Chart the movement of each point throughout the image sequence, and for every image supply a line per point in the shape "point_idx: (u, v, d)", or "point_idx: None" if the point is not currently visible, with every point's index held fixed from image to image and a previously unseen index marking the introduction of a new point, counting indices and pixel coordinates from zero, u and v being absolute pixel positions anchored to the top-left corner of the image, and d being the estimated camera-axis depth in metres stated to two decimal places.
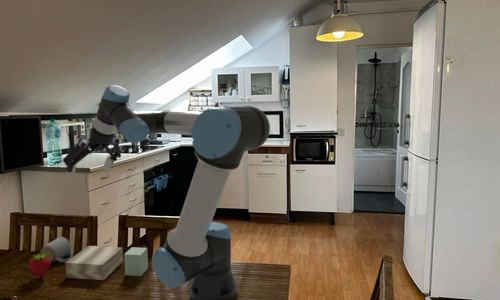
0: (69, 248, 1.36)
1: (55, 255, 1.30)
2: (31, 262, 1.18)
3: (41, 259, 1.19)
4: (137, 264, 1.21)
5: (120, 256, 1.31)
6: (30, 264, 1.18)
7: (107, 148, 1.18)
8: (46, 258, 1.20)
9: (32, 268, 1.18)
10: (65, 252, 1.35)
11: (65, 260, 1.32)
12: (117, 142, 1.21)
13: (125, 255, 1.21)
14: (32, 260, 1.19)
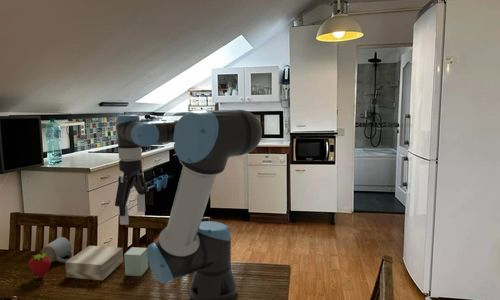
0: (70, 248, 1.36)
1: (55, 255, 1.30)
2: (31, 262, 1.18)
3: (41, 259, 1.19)
4: (137, 264, 1.21)
5: (121, 256, 1.31)
6: (30, 264, 1.18)
7: (139, 179, 1.22)
8: (46, 258, 1.20)
9: (32, 268, 1.18)
10: (66, 252, 1.35)
11: (66, 260, 1.32)
12: (141, 172, 1.26)
13: (125, 255, 1.21)
14: (32, 260, 1.19)
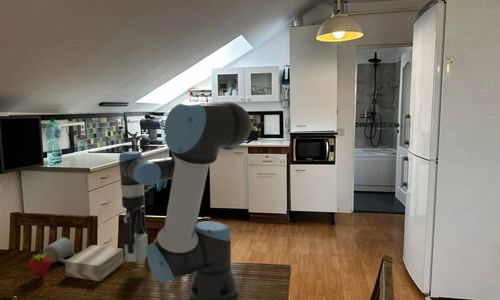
0: (72, 249, 1.36)
1: (57, 255, 1.30)
2: (31, 262, 1.18)
3: (41, 259, 1.19)
4: (137, 250, 1.20)
5: (121, 257, 1.30)
6: (30, 264, 1.18)
7: (141, 215, 1.24)
8: (46, 258, 1.20)
9: (32, 268, 1.18)
10: (68, 253, 1.34)
11: None
12: (144, 209, 1.27)
13: None
14: (32, 260, 1.19)
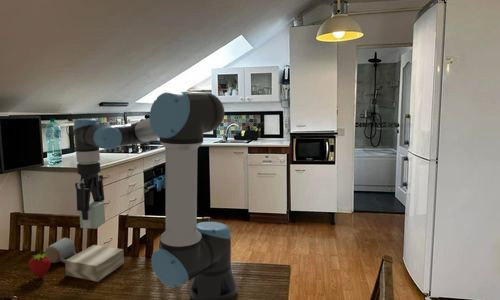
0: (73, 249, 1.36)
1: (59, 256, 1.30)
2: (31, 262, 1.18)
3: (41, 259, 1.19)
4: (91, 216, 1.21)
5: (121, 258, 1.30)
6: (30, 264, 1.18)
7: (97, 183, 1.24)
8: (46, 258, 1.20)
9: (32, 268, 1.18)
10: (69, 253, 1.34)
11: None
12: (101, 178, 1.28)
13: None
14: (32, 260, 1.19)
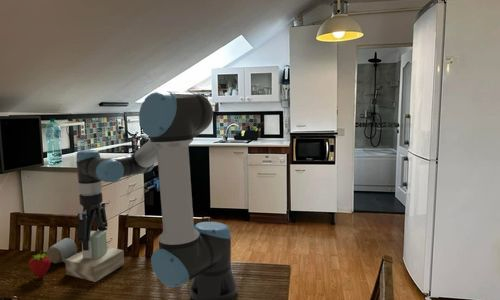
0: (75, 249, 1.35)
1: (61, 256, 1.29)
2: (31, 262, 1.18)
3: (41, 259, 1.19)
4: (94, 247, 1.22)
5: (121, 259, 1.29)
6: (30, 264, 1.18)
7: (99, 212, 1.26)
8: (46, 258, 1.20)
9: (32, 268, 1.18)
10: (71, 253, 1.34)
11: None
12: (104, 206, 1.29)
13: None
14: (32, 260, 1.19)
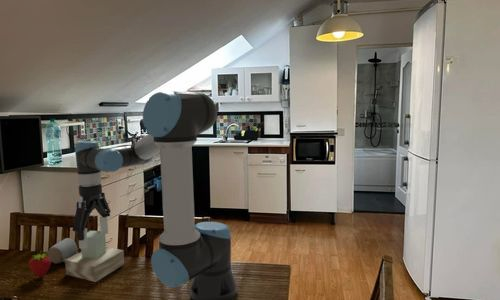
0: (76, 249, 1.35)
1: (61, 256, 1.29)
2: (31, 262, 1.18)
3: (41, 259, 1.19)
4: (92, 247, 1.22)
5: (121, 259, 1.29)
6: (30, 264, 1.18)
7: (100, 203, 1.26)
8: (46, 258, 1.20)
9: (32, 268, 1.18)
10: (72, 253, 1.34)
11: None
12: (103, 195, 1.29)
13: None
14: (32, 260, 1.19)
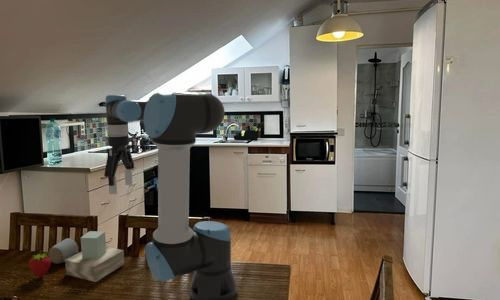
0: (76, 249, 1.35)
1: (62, 256, 1.29)
2: (31, 262, 1.18)
3: (41, 259, 1.19)
4: (93, 247, 1.22)
5: (121, 259, 1.29)
6: (30, 264, 1.18)
7: (126, 154, 1.35)
8: (46, 258, 1.20)
9: (32, 268, 1.18)
10: (72, 253, 1.34)
11: None
12: (129, 148, 1.38)
13: (81, 238, 1.22)
14: (32, 260, 1.19)
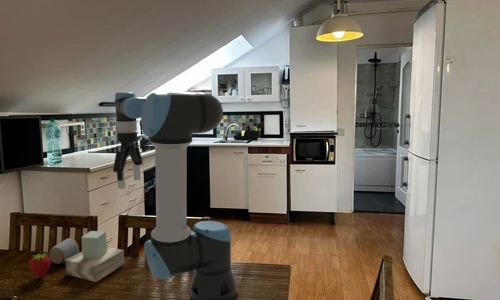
0: (77, 249, 1.35)
1: (63, 256, 1.29)
2: (31, 262, 1.18)
3: (41, 259, 1.19)
4: (94, 247, 1.22)
5: (121, 259, 1.29)
6: (30, 264, 1.18)
7: (135, 150, 1.38)
8: (46, 258, 1.20)
9: (32, 268, 1.18)
10: (73, 254, 1.34)
11: None
12: (137, 144, 1.41)
13: (82, 238, 1.22)
14: (32, 260, 1.19)
